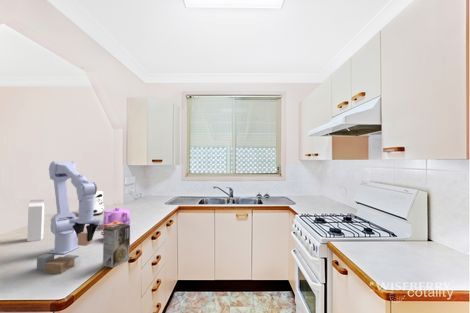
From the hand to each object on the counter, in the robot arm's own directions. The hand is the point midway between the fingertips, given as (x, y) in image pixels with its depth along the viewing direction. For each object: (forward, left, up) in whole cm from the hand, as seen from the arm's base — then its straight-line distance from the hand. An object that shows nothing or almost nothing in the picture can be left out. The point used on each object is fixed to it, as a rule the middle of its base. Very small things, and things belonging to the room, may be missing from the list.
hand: (85, 240), depth 109 cm
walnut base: (+9, -4, -9) cm, 13 cm away
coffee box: (0, +15, -9) cm, 18 cm away
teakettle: (-56, -19, -10) cm, 60 cm away
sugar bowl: (-30, -5, -9) cm, 32 cm away
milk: (-22, -46, -9) cm, 52 cm away
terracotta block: (0, 0, -2) cm, 2 cm away
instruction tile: (0, -9, -9) cm, 13 cm away
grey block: (+9, -10, -9) cm, 17 cm away
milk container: (-83, -57, -9) cm, 101 cm away
